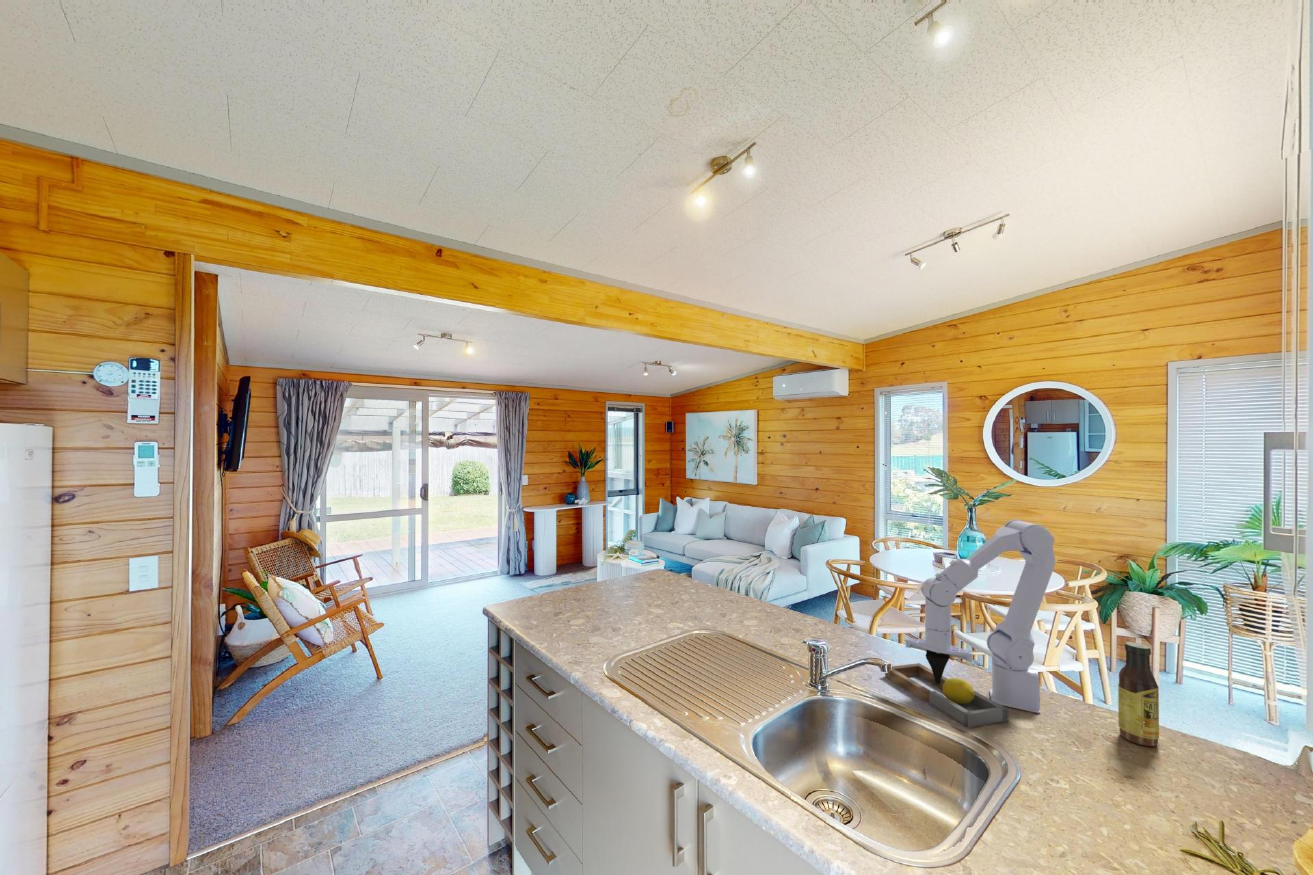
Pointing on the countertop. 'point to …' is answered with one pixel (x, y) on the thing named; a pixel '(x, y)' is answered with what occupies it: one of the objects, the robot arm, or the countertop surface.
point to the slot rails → (901, 678)
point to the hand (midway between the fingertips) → (938, 682)
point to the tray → (971, 710)
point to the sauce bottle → (1138, 697)
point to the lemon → (958, 691)
